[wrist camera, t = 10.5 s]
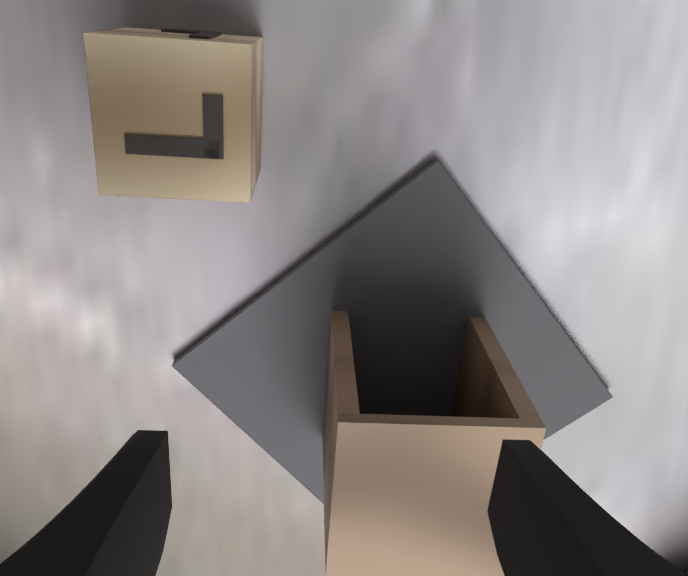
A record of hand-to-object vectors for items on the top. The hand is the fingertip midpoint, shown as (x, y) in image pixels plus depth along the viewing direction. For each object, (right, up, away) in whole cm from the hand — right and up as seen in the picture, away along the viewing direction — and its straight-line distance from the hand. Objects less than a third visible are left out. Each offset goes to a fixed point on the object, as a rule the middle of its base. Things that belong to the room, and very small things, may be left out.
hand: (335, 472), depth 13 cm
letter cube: (-4, +10, +6) cm, 12 cm away
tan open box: (+2, +1, +10) cm, 10 cm away
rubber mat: (+2, +1, +11) cm, 11 cm away
